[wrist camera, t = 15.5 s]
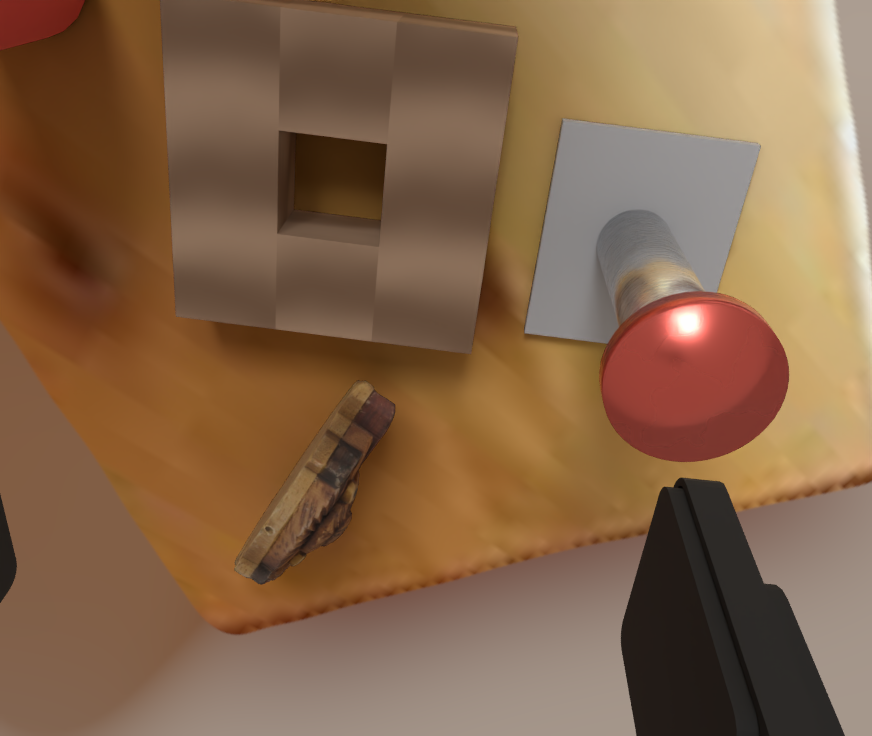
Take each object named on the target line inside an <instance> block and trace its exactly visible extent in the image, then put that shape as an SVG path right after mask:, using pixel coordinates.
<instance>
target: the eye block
mask: <svg viewBox="0 0 872 736" xmlns="http://www.w3.org/2000/svg"><path fill="white" fill-rule="evenodd" d="M160 10H161V30H162V50H163V70H164V90H165V110H166V130H167V150H168V170H169V190H170V209H171V229H172V249H173V269H174V289H175V309H176V317H183V318H191V319H199V320H207V321H215V322H223V323H230V324H238V325H246V326H254V327H262V328H270V329H277V330H285V331H293V332H301V333H309V334H317V335H325V336H332V337H340V338H348V339H356V340H364V341H372V342H380V343H387V344H395V345H403V346H411V347H419V348H427V349H434V350H442V351H450V352H458V353H466V354H471V352H472V345H473V338H474V331H475V325H476V318H477V311H478V305H479V298H480V291H481V284H482V278H483V271H484V264H485V258H486V251H487V244H488V237H489V231H490V224H491V217H492V210H493V204H494V197H495V190H496V184H497V177H498V170H499V163H500V157H501V150H502V143H503V137H504V130H505V123H506V116H507V110H508V103H509V96H510V90H511V83H512V76H513V69H514V63H515V56H516V49H517V42H518V33H517V28H516V27H514V26H506V25H498V24H490V23H482V22H474V21H466V20H458V19H451V18H443V17H435V16H427V15H419V14H411V13H403V12H395V11H387V10H379V9H372V8H364V7H356V6H348V5H340V4H332V3H324V2H316V1H308V0H160ZM296 133H303V134H311V135H319V136H327V137H335V138H343V139H351V140H358V141H366V142H374V143H382V144H387V154H386V167H385V179H384V191H383V204H382V216H381V220H373V219H365V218H358V217H350V216H342V215H334V214H326V213H318V212H310V211H302V210H295V209H294V190H295V152H296Z"/></svg>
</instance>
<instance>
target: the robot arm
mask: <svg viewBox="0 0 872 736" xmlns="http://www.w3.org/2000/svg"><path fill="white" fill-rule="evenodd" d="M16 567H17V563H16V557H15V553H14V549H13V545H12V541H11V537H10V532H9V528H8V524H7V520H6V516H5V512H4V508H3V504H2V500H1V495H0V603H1V601H2V600H3V598H4V597H5V595H6V594H7V592H8V591H9V589H10V587H11V586H12V584H13V581H14V578H15V575H16ZM621 647H622V655H623V660H624V666H625V672H626V677H627V683H628V688H629V695H630V700H631V706H632V711H633V717H634V723H635V729H636V735H637V736H845V735H844V733H843V730H842V728H841V725H840V723H839V721H838V718H837V716H836V714H835V711H834V709H833V706H832V704H831V702H830V699H829V697H828V694H827V692H826V689H825V687H824V685H823V682H822V680H821V678H820V675H819V673H818V670H817V668H816V666H815V663H814V661H813V659H812V656H811V654H810V651H809V649H808V647H807V644H806V642H805V640H804V637H803V635H802V632H801V630H800V628H799V625H798V623H797V620H796V618H795V616H794V613H793V611H792V608H791V606H790V604H789V601H788V599H787V597H786V596H785V594H784V592H783V590H782V589H781V588H779V587H778V586H777V585H772V584H764V583H763V581H762V578H761V576H760V573H759V571H758V568H757V565H756V563H755V560H754V558H753V555H752V553H751V550H750V548H749V545H748V542H747V540H746V537H745V535H744V532H743V530H742V527H741V525H740V522H739V520H738V517H737V514H736V512H735V509H734V507H733V504H732V502H731V499H730V497H729V494H728V492H727V489H726V487H725V485H724V484H723V483H722V482H719V481H709V480H699V479H689V478H679V479H678V480H677V481H676V483H675V485H674V488H673V487H663V488H662V490H661V491H660V494H659V497H658V501H657V504H656V508H655V511H654V515H653V518H652V522H651V525H650V529H649V532H648V536H647V540H646V543H645V546H644V550H643V553H642V557H641V560H640V564H639V567H638V570H637V574H636V577H635V581H634V584H633V588H632V591H631V595H630V598H629V602H628V605H627V609H626V612H625V616H624V619H623V624H622V630H621Z"/></svg>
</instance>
